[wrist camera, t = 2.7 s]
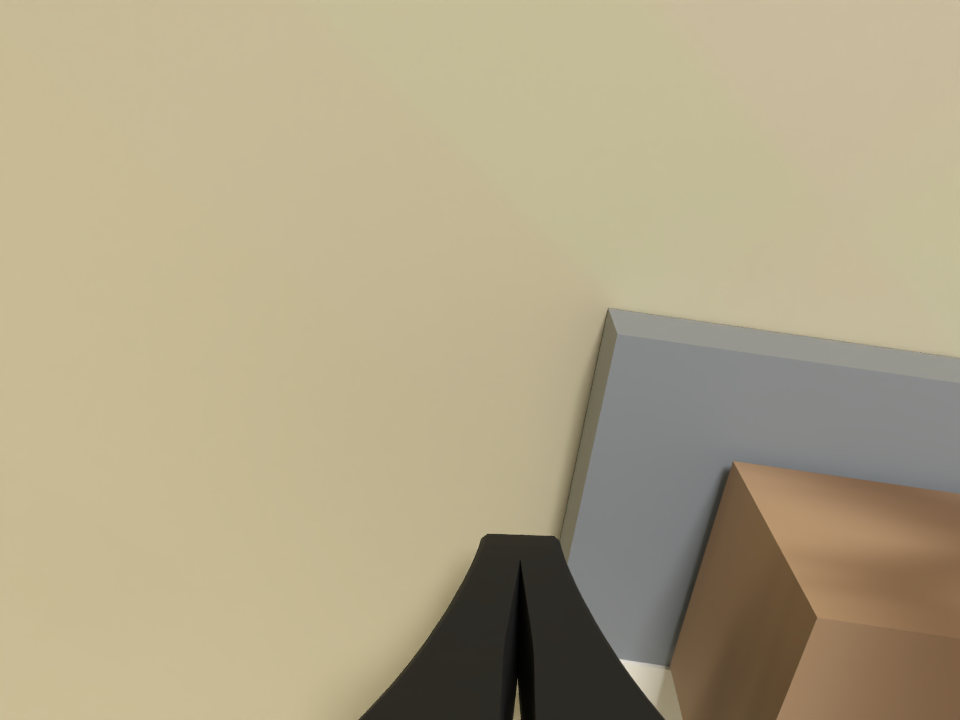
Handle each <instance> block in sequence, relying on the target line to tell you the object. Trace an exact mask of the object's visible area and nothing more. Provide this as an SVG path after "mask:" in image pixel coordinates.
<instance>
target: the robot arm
mask: <svg viewBox="0 0 960 720" xmlns="http://www.w3.org/2000/svg"><path fill="white" fill-rule="evenodd" d="M517 679H518V688H519V701H520V714H521V720H665V719H664V717H663V716H662V715H661V714H660V713H659V711H658V710H657V709H656V708H655V706H654V705H653V704H652V703H651V702H650V700H649V699H648V698H647V697H646V695H645V694H644V693H643V691H642V690H641V689H640V687H639V686H638V685H637V683H636V682H635V681H634V680H633V678H632V677H631V675H630V674H629V673H628V671H627V670H626V668H625V667H624V665H623V664H622V663H621V661H620V660H619V658H618V657H617V655H616V654H615V652H614V650H613V649H612V647H611V646H610V644H609V643H608V641H607V640H606V638H605V636H604V635H603V633H602V631H601V630H600V628H599V626H598V625H597V623H596V621H595V619H594V618H593V616H592V614H591V612H590V610H589V608H588V607H587V605H586V603H585V601H584V599H583V597H582V595H581V593H580V591H579V589H578V587H577V585H576V583H575V581H574V579H573V576H572V574H571V572H570V570H569V567H568V565H567V562H566V560H565V557H564V554H563V551H562V548H561V544H560V541H559V540H558V539H557V538H556V537H555V536H535V535H507V534H486V535H485V536H484V537H483V538H482V539H481V541H480V544H479V548H478V550H477V553H476V555H475V558H474V560H473V562H472V564H471V567H470V569H469V571H468V573H467V575H466V577H465V579H464V581H463V582H462V584H461V586H460V588H459V589H458V591H457V593H456V595H455V596H454V598H453V600H452V602H451V603H450V605H449V607H448V609H447V610H446V612H445V613H444V615H443V616H442V618H441V619H440V621H439V622H438V624H437V625H436V627H435V628H434V630H433V631H432V633H431V634H430V636H429V637H428V639H427V640H426V642H425V643H424V644H423V646H422V647H421V648H420V650H419V651H418V652H417V654H416V655H415V656H414V658H413V659H412V660H411V662H410V663H409V664H408V665H407V667H406V668H405V669H404V670H403V671H402V673H401V674H400V675H399V676H398V677H397V679H396V680H395V681H394V682H393V683H392V684H391V686H390V687H389V688H388V689H387V690H386V691H385V692H384V693H383V694H382V695H381V696H380V698H379V699H378V700H377V701H376V702H375V703H374V704H373V705H372V706H371V707H370V708H369V710H368V711H367V712H366V713H365V714H364V715H363V716H362V717H361V718H360V719H359V720H513V714H514V705H515V696H516V688H517Z"/></svg>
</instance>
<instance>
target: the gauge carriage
mask: <svg viewBox="0 0 960 720" xmlns="http://www.w3.org/2000/svg"><path fill="white" fill-rule="evenodd" d="M670 669H671V673H672V677H673V682H674V686H675V690H676V694H677V698H678V702H679V706H680V711H681V715H682V719H683V720H960V494H958V493H951V492H944V491H937V490H930V489H923V488H916V487H909V486H903V485H896V484H889V483H882V482H875V481H868V480H861V479H854V478H847V477H840V476H834V475H827V474H820V473H813V472H806V471H799V470H792V469H785V468H778V467H772V466H765V465H758V464H751V463H744V462H737V461H733V462H732V466H731V469H730V472H729V475H728V479H727V482H726V485H725V488H724V492H723V495H722V498H721V501H720V505H719V508H718V511H717V514H716V518H715V521H714V524H713V527H712V531H711V534H710V537H709V540H708V544H707V547H706V550H705V553H704V557H703V560H702V563H701V566H700V570H699V573H698V576H697V579H696V583H695V586H694V589H693V592H692V596H691V599H690V602H689V605H688V609H687V612H686V615H685V618H684V622H683V625H682V628H681V631H680V635H679V638H678V641H677V644H676V648H675V651H674V654H673V657H672V661H671V664H670Z"/></svg>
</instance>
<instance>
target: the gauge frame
mask: <svg viewBox="0 0 960 720" xmlns="http://www.w3.org/2000/svg"><path fill="white" fill-rule="evenodd" d="M733 461H737V462H744V463H751V464H758V465H765V466H772V467H778V468H785V469H792V470H799V471H806V472H813V473H820V474H827V475H834V476H840V477H847V478H854V479H861V480H868V481H875V482H882V483H889V484H896V485H903V486H909V487H916V488H923V489H930V490H937V491H944V492H951V493H958V494H960V358H953V357H946V356H939V355H932V354H925V353H918V352H911V351H904V350H897V349H890V348H883V347H876V346H869V345H862V344H855V343H848V342H841V341H834V340H827V339H820V338H813V337H806V336H799V335H792V334H785V333H778V332H771V331H764V330H757V329H750V328H743V327H736V326H729V325H722V324H715V323H708V322H701V321H694V320H687V319H680V318H673V317H666V316H659V315H652V314H645V313H638V312H631V311H624V310H617V309H610V308H608V313H607V317H606V322H605V327H604V332H603V336H602V341H601V346H600V351H599V356H598V360H597V365H596V370H595V375H594V379H593V384H592V389H591V394H590V399H589V403H588V408H587V413H586V418H585V423H584V427H583V432H582V437H581V442H580V446H579V451H578V456H577V461H576V466H575V470H574V475H573V480H572V485H571V489H570V494H569V499H568V504H567V509H566V513H565V518H564V523H563V528H562V533H561V537H560V544H561V548H562V551H563V554H564V557H565V560H566V562H567V565H568V567H569V570H570V572H571V574H572V576H573V579H574V581H575V583H576V585H577V587H578V589H579V591H580V593H581V595H582V597H583V599H584V601H585V603H586V605H587V607H588V608H589V610H590V612H591V614H592V616H593V618H594V619H595V621H596V623H597V625H598V626H599V628H600V630H601V631H602V633H603V635H604V636H605V638H606V640H607V641H608V643H609V644H610V646H611V647H612V649H613V650H614V652H615V654H616V655H617V657H618V658H619V660H620V661H621V663H622V664H623V665H624V667H625V668H626V670H627V671H628V673H629V674H630V675H631V677H632V678H633V680H634V681H635V682H636V683H637V685H638V686H639V687H640V689H641V690H642V691H643V693H644V694H645V695H646V697H647V698H648V699H649V700H650V702H651V703H652V704H653V705H654V706H655V708H656V709H657V710H658V711H659V713H660V714H661V715H662V716H663V717H664V719H665V720H683V719H682V715H681V711H680V706H679V702H678V698H677V694H676V690H675V686H674V682H673V677H672V673H671V669H670V664H671V661H672V657H673V654H674V651H675V648H676V644H677V641H678V638H679V635H680V631H681V628H682V625H683V622H684V618H685V615H686V612H687V609H688V605H689V602H690V599H691V596H692V592H693V589H694V586H695V583H696V579H697V576H698V573H699V570H700V566H701V563H702V560H703V557H704V553H705V550H706V547H707V544H708V540H709V537H710V534H711V531H712V527H713V524H714V521H715V518H716V514H717V511H718V508H719V505H720V501H721V498H722V495H723V492H724V488H725V485H726V482H727V479H728V475H729V472H730V469H731V466H732V462H733Z"/></svg>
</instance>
